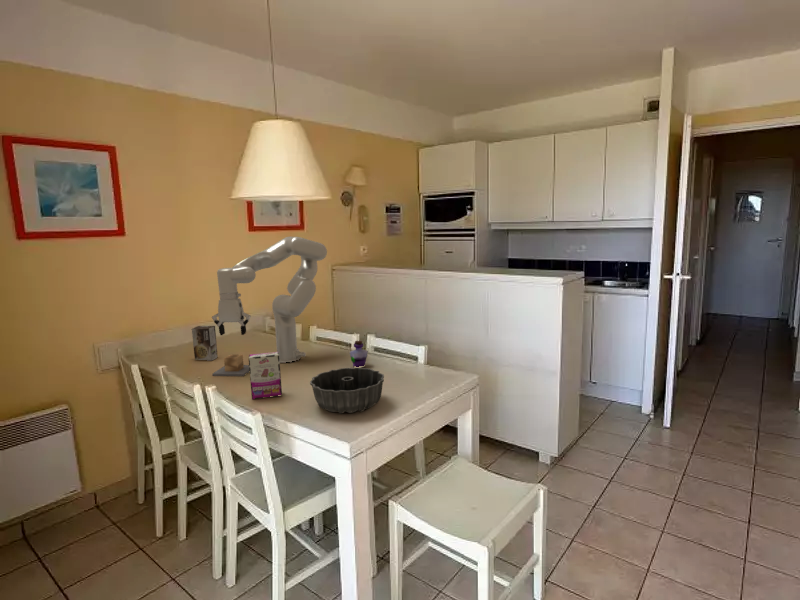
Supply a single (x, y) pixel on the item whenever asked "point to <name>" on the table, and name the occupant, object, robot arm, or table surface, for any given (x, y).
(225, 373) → the charcoal mat
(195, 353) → the coffee box
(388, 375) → the table surface
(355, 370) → the bundt pan
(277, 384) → the candy bar box
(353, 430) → the table surface
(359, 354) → the potion bottle
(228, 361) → the oak cube
